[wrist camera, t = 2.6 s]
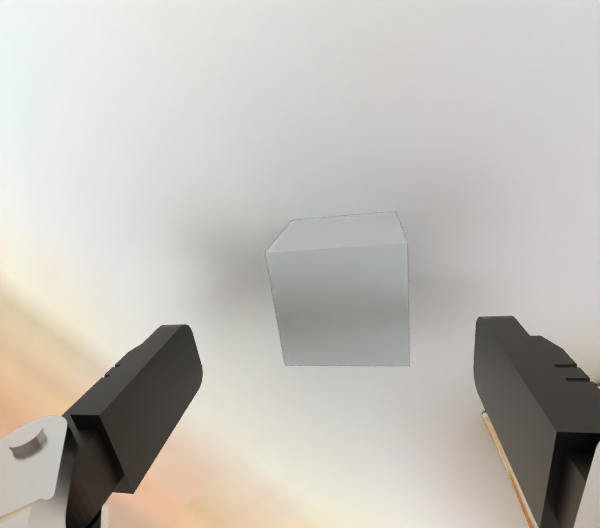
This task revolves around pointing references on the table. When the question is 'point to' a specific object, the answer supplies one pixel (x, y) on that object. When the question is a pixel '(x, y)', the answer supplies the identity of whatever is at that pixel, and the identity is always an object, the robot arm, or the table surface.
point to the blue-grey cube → (342, 291)
